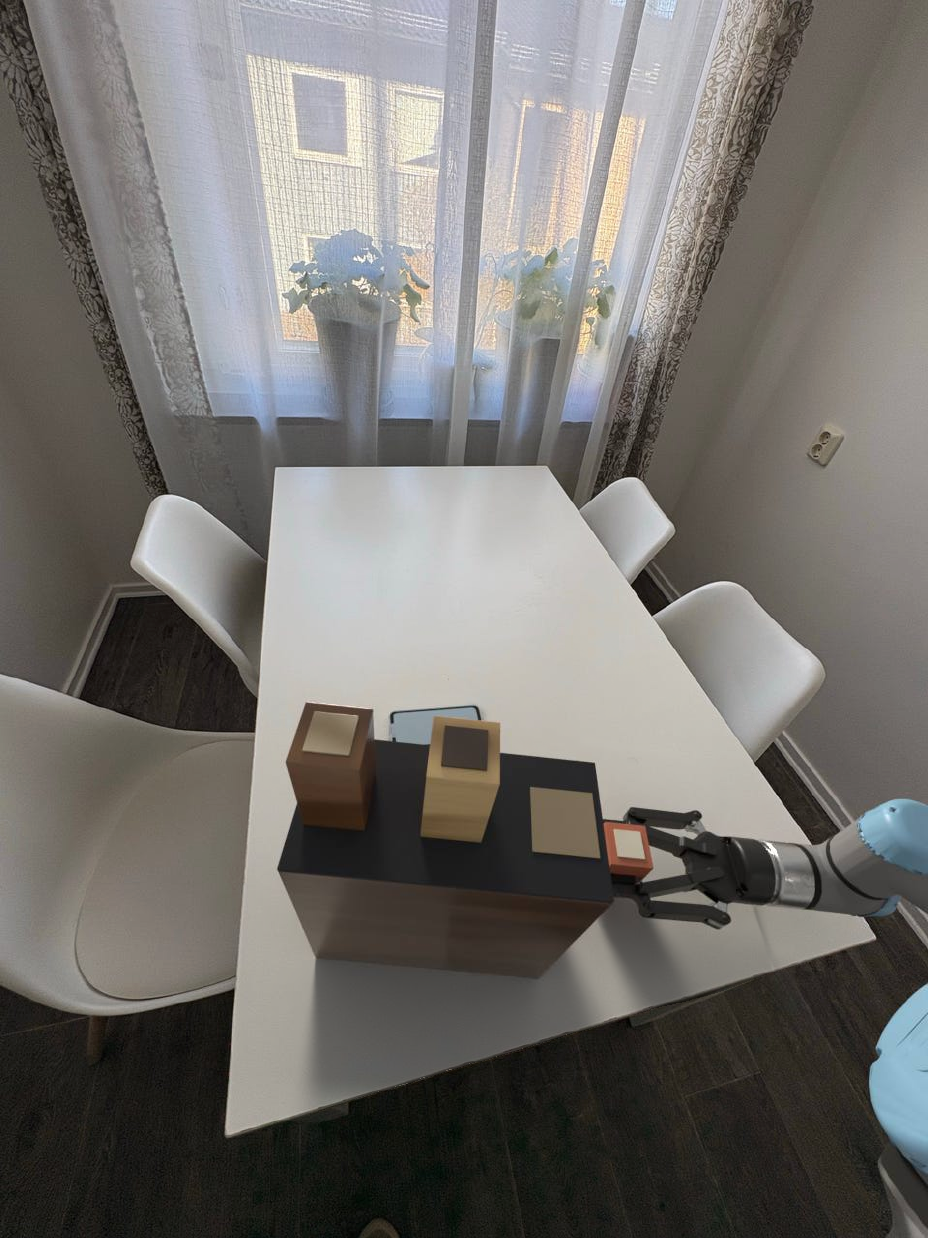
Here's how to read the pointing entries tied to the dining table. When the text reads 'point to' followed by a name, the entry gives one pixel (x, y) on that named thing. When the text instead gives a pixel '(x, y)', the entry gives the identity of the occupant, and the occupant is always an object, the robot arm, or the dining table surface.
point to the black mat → (503, 862)
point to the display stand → (436, 925)
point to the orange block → (628, 850)
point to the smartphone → (425, 721)
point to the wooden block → (333, 765)
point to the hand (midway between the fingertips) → (576, 853)
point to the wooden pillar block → (461, 778)
